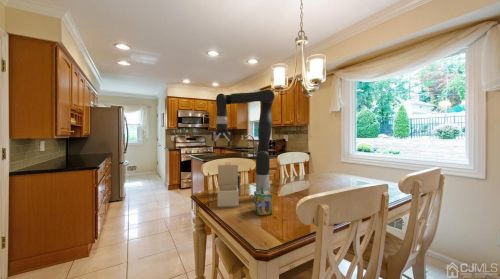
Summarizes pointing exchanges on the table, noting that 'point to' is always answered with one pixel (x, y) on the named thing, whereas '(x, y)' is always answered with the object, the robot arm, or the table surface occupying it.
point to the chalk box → (262, 202)
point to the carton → (228, 196)
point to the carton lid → (228, 174)
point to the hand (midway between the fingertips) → (222, 146)
